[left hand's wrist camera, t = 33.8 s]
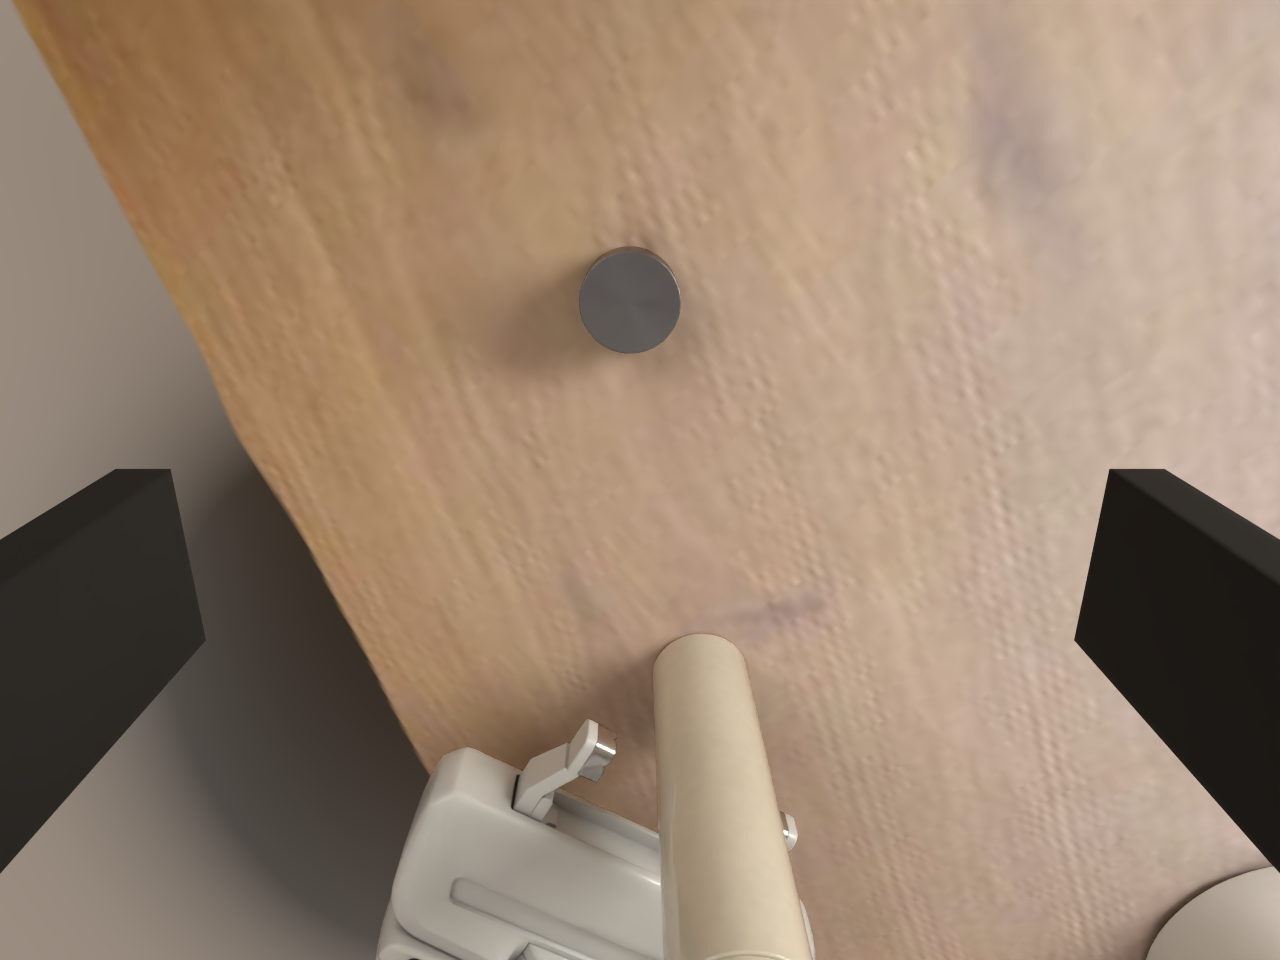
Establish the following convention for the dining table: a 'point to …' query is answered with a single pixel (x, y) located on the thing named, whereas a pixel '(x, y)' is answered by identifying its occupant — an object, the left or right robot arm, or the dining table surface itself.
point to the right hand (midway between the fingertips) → (694, 777)
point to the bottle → (719, 814)
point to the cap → (630, 300)
